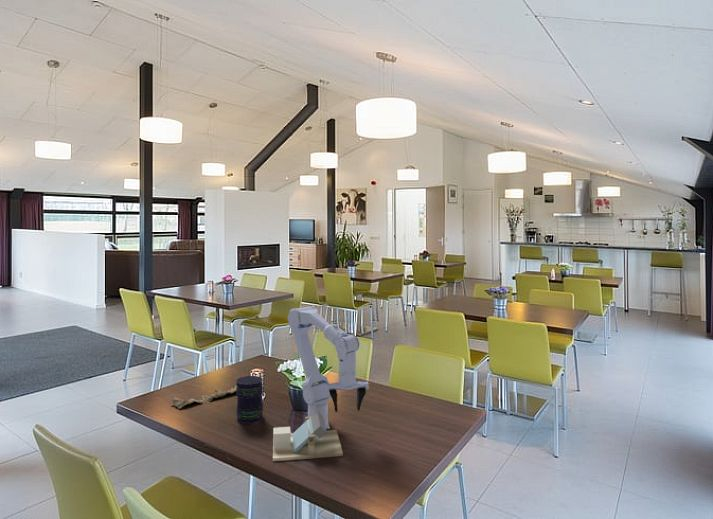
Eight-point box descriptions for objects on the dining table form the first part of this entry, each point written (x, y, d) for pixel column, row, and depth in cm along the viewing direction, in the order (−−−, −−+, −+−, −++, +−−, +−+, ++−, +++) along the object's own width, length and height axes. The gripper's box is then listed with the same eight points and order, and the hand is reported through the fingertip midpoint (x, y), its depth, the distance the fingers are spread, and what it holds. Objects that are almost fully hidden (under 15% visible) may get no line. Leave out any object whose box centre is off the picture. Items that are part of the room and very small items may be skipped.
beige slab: (273, 437, 161) (273, 418, 161) (336, 432, 165) (336, 414, 165) (272, 461, 145) (272, 440, 144) (342, 455, 148) (342, 435, 148)
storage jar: (234, 416, 180) (233, 378, 179) (259, 411, 184) (258, 374, 183) (240, 425, 171) (239, 385, 170) (266, 420, 175) (265, 381, 175)
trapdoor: (298, 439, 161) (292, 433, 160) (322, 416, 162) (317, 410, 161) (299, 457, 148) (293, 450, 148) (326, 432, 149) (320, 425, 149)
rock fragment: (241, 387, 216) (241, 380, 216) (254, 392, 209) (254, 386, 209) (169, 404, 192) (169, 397, 191) (181, 411, 184) (181, 404, 184)
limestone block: (290, 441, 156) (273, 442, 155) (290, 426, 156) (273, 427, 155) (290, 448, 151) (273, 449, 150) (290, 433, 151) (273, 434, 150)
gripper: (327, 375, 153) (327, 416, 154) (370, 373, 155) (370, 413, 156) (325, 369, 160) (325, 408, 161) (366, 367, 162) (366, 405, 163)
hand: (347, 410), depth 159 cm, fingers open, 7 cm apart
